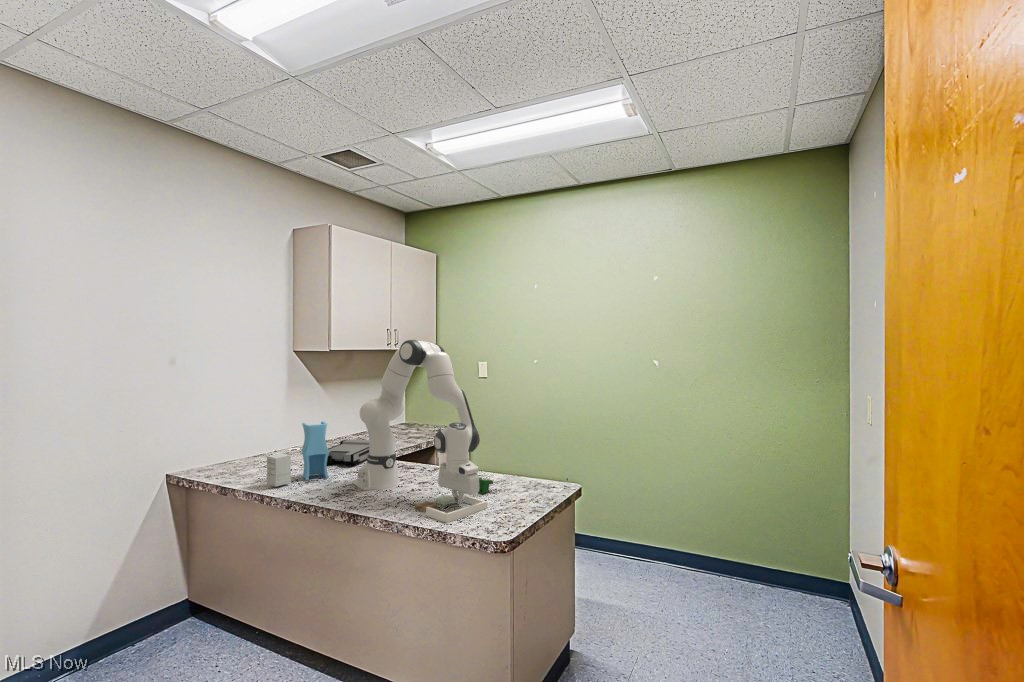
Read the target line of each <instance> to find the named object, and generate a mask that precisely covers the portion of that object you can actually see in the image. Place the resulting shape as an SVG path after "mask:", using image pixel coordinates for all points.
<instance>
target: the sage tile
mask: <svg viewBox="0 0 1024 682" xmlns="http://www.w3.org/2000/svg"><path fill="white" fill-rule="evenodd" d="M435 503H436V504H440V505H442V506H447V505H451V504H453V503H456V502H455V501H454V497H453V496H451V495H445V496H440V497H436V498H435Z"/></svg>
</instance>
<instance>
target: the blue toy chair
mask: <svg viewBox="0 0 1024 682" xmlns="http://www.w3.org/2000/svg"><path fill="white" fill-rule="evenodd" d="M301 425H302V427H303V433H304V441H303V446H302V449H301V453H302V457H303V473H302V477H303V478H304V479H305V481H309V478H310V476H314V475H315V476H316V475H323V476H324V478H325V479H326V478H329V474H328V469H327V468H328V467H327V466H328V465H327V458H328V454H329V451H328V444H327V441H326V433H327V427H328V423H327V422H325V421H320V424H319V423H317V424H307V423H305V422H302V423H301Z"/></svg>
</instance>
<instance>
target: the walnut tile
mask: <svg viewBox="0 0 1024 682" xmlns="http://www.w3.org/2000/svg"><path fill="white" fill-rule="evenodd" d="M426 507H430V508H433V509H438V503H436V502H435V503H434V502H431V501H428V500H426V501H423V502H419V503H416V504H414V510H417V511H420V512H423V513H426Z"/></svg>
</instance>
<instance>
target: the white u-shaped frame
mask: <svg viewBox="0 0 1024 682" xmlns="http://www.w3.org/2000/svg"><path fill="white" fill-rule="evenodd" d="M464 503H465V504H469V506H465V507H462V508H459V509H456V510H453V511H449V512H446V511H441V510H439V509H437V508H435V509H433V508H430V507H426V512H425V516H427V517H428V518H432V519H434V520H437V521H440V522H443V523H446V524H448V523H451V522H453V521H454V522H455V520H459V519H461V518H465V517H467V516H469V515H470V516H471V515H472V514H475V513H477V512H480V511H484V510H485V509H488V501H487V500H484V499H479V498H477V497H474V496H471V495H464Z"/></svg>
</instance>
